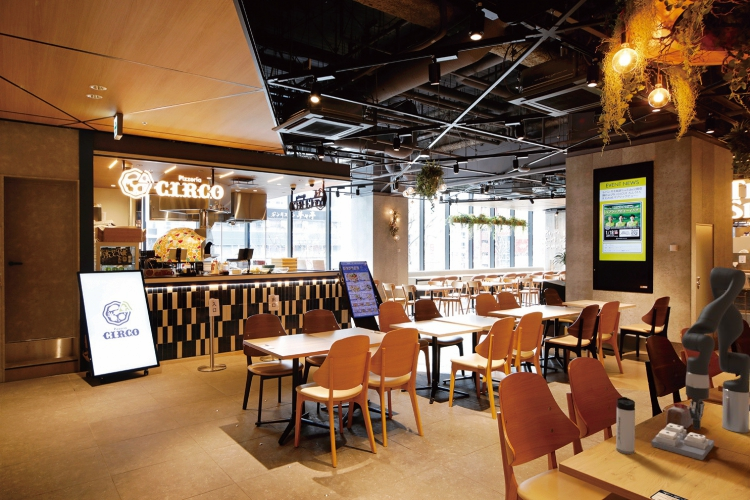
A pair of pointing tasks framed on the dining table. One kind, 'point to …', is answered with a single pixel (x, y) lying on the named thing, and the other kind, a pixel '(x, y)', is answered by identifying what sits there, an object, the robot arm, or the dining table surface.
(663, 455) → the dining table surface
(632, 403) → the travel mug
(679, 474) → the dining table surface
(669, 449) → the button board
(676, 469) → the dining table surface
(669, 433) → the button one
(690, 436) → the button three
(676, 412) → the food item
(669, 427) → the button two
